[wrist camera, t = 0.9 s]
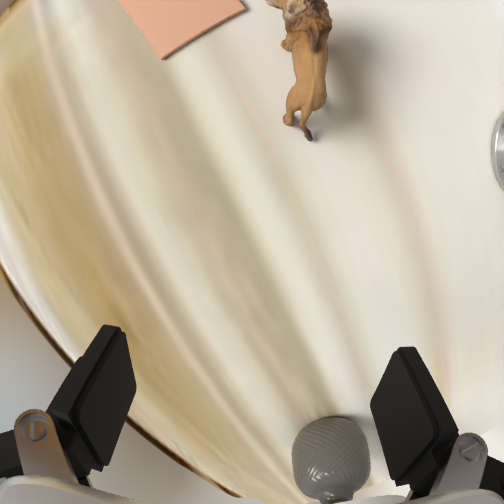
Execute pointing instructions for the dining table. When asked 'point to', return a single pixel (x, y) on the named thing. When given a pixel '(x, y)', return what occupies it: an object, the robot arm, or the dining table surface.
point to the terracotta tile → (178, 20)
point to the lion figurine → (305, 56)
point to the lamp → (334, 462)
